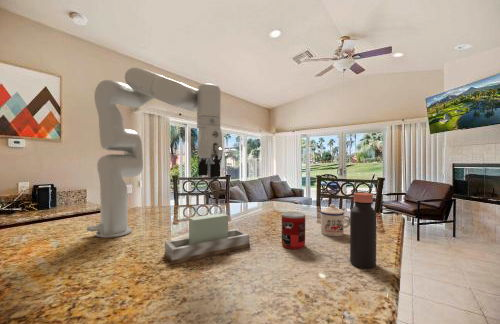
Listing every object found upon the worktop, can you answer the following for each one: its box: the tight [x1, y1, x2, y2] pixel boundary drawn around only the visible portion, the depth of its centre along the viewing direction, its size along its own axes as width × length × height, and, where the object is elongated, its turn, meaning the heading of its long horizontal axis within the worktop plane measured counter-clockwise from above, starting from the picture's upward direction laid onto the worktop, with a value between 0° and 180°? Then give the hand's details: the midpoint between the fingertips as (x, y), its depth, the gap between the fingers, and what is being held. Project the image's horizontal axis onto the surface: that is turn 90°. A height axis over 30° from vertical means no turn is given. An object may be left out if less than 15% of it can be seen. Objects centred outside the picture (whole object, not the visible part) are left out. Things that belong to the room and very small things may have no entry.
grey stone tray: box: [164, 228, 251, 265], centre depth 82 cm, size 26×9×4 cm, turn 123°
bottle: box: [349, 192, 377, 270], centre depth 71 cm, size 7×7×20 cm
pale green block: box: [188, 212, 229, 245], centre depth 82 cm, size 12×4×10 cm, turn 124°
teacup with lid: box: [320, 203, 350, 237], centre depth 100 cm, size 12×9×12 cm
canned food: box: [281, 211, 306, 250], centre depth 86 cm, size 8×8×11 cm
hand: (208, 176), depth 81 cm, fingers open, 9 cm apart
